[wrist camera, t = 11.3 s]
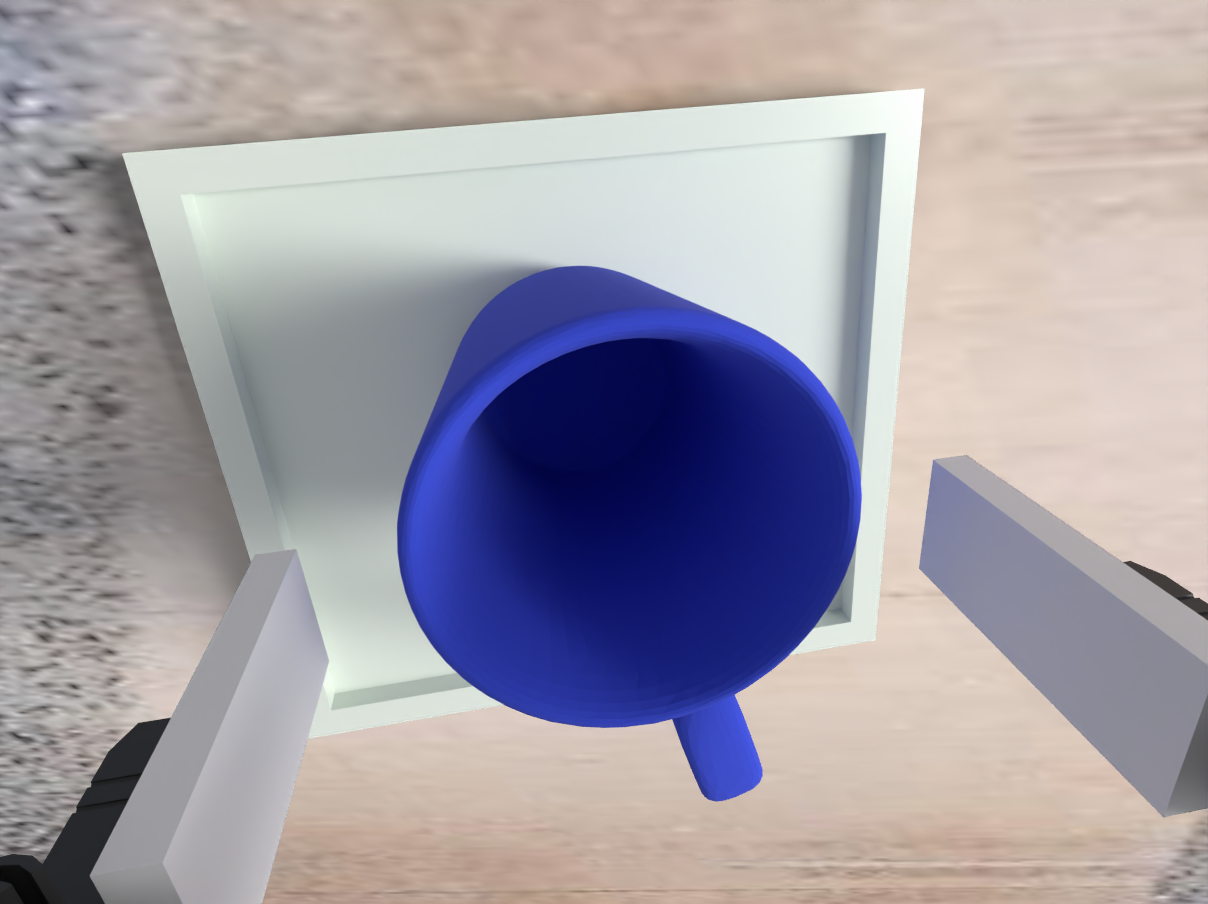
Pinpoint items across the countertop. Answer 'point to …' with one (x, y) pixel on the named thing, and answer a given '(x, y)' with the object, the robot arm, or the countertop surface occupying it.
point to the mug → (627, 512)
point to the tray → (473, 278)
